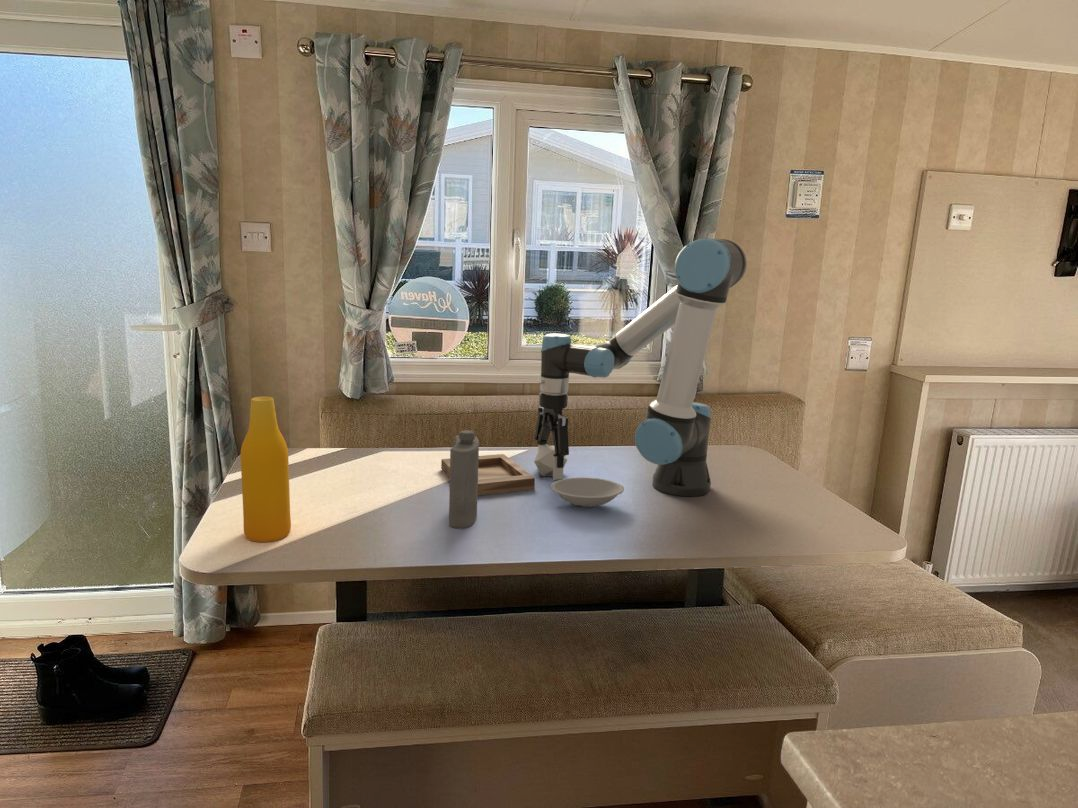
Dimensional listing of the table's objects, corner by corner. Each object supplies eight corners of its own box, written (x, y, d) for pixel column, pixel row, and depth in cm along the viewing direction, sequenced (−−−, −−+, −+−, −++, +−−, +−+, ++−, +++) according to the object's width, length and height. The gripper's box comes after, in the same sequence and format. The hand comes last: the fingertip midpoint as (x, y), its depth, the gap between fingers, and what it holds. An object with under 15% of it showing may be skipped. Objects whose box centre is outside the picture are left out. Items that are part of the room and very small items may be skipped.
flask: (474, 529, 162) (476, 441, 157) (447, 528, 162) (449, 440, 157) (478, 505, 176) (481, 423, 172) (454, 504, 176) (456, 422, 172)
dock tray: (534, 489, 189) (535, 478, 188) (467, 496, 182) (467, 484, 181) (502, 464, 209) (503, 453, 208) (441, 469, 201) (441, 459, 201)
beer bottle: (276, 545, 149) (271, 405, 143) (234, 540, 151) (227, 401, 144) (299, 528, 158) (295, 395, 152) (259, 523, 160) (253, 392, 153)
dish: (613, 495, 187) (615, 476, 186) (629, 516, 173) (631, 496, 172) (545, 496, 184) (546, 477, 183) (555, 518, 170) (557, 497, 169)
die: (558, 483, 196) (576, 452, 198) (531, 467, 195) (548, 436, 197) (552, 484, 204) (568, 454, 206) (525, 468, 203) (542, 438, 205)
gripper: (524, 384, 205) (521, 462, 210) (559, 402, 185) (554, 487, 190) (549, 383, 208) (545, 460, 213) (585, 400, 188) (580, 484, 193)
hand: (549, 472), depth 202 cm, fingers closed on die, 9 cm apart
